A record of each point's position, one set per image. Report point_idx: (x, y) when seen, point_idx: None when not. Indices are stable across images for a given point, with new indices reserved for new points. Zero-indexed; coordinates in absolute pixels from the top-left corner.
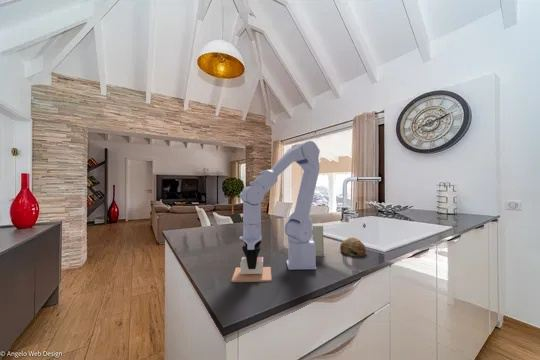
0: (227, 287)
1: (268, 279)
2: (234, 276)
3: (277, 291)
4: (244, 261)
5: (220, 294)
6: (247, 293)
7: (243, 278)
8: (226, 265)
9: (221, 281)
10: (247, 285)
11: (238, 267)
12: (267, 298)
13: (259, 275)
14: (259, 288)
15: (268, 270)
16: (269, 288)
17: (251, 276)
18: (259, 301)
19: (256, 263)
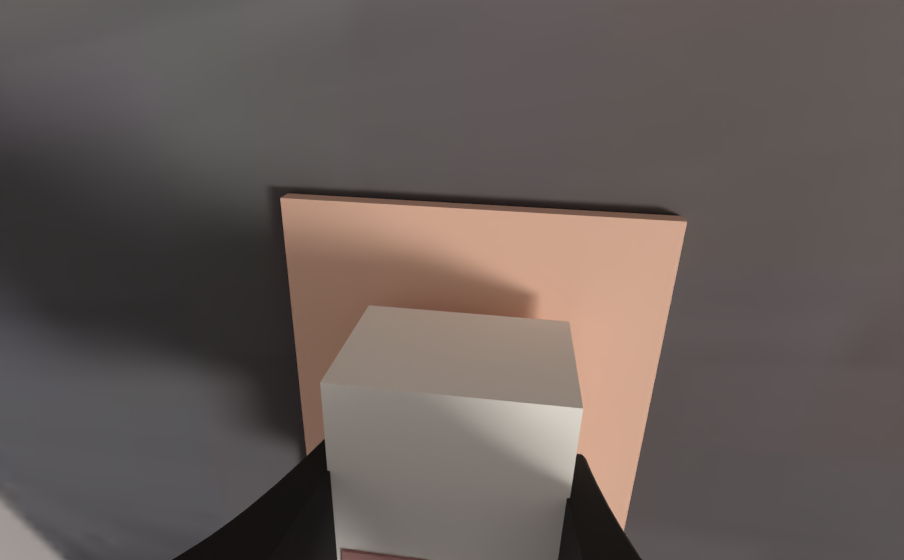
0: (172, 161)
1: None
2: (387, 223)
3: (168, 536)
4: (372, 437)
5: (28, 108)
6: (100, 345)
7: (334, 322)
8: (883, 48)
9: (304, 66)
10: (235, 348)
11: (678, 257)
12: (64, 468)
13: None
14: (194, 434)
15: None
16: (204, 498)
17: None
18: (15, 418)
19: (340, 554)
